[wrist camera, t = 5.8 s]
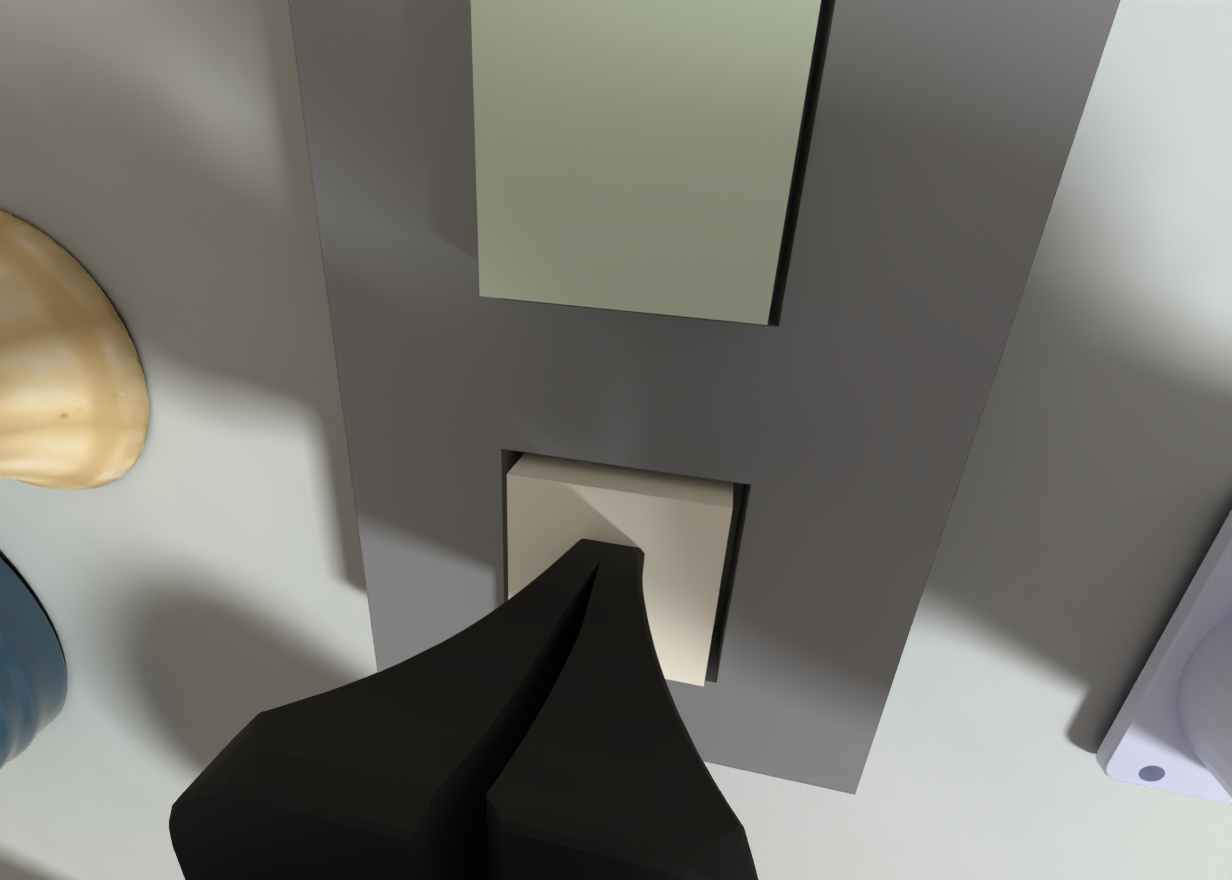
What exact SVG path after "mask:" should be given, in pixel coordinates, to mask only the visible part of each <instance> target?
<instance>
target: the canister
mask: <svg viewBox="0 0 1232 880" xmlns="http://www.w3.org/2000/svg"><path fill="white" fill-rule="evenodd" d="M66 691H67V674H66V667H65V662H64V658H63V655H62V651H61V648H60V646H59V643H58V640H57V638H56V636H55V633H54V631H53V629H52V627H51V625H50V623H49V621H48V619H47V618H46V616H45V614H44V613H43V611H42V609H41V608H40V606H39V605H38V603H37V602H36V600H35V599H34V597H33V596H32V594H31V593H30V592H29V590H28V589H27V587H26V586H25V585H24V584H23V582H22V581H21V580H20V579H19V577H18V576H17V575H16V574H15V573H14V572H13V570H12V569H11V568H10V567H9V566H8V565H7V564H6V563H5V561H4V560H3V559H2V558H1V557H0V769H1V768H2V767H3V766H4V765H5V763H6V762H8V761H10V760H12V759H14V758H15V757H17V756H19V755H20V754H21V753H22V752H23V751H24V750H25V749H26V748H27V747H28V746H29V745H30V744H31V742H32V741H33V740H34V738H35V737H36V735H37V734H38V733H39V732H40V731H41V730H42V729H44V728H45V727H46V726H47V725H48V724H49V723H50V722H52V721H53V720H54V719H55V718H56V717H57V715H58V714H59V713H60V711H61V709H62V707H63V705H64V702H65V698H66Z"/></svg>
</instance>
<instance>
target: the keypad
mask: <svg viewBox="0 0 1232 880" xmlns="http://www.w3.org/2000/svg"><path fill="white" fill-rule="evenodd" d="M288 1H289V8H290V16H291V23H292V31H293V38H294V46H295V54H296V61H297V69H298V76H299V84H300V91H301V99H302V106H303V114H304V121H305V129H306V136H307V144H308V152H309V159H310V167H311V174H312V182H313V189H314V197H315V204H316V212H317V219H318V227H319V234H320V242H321V249H322V257H323V265H324V272H325V280H326V287H327V295H328V302H329V310H330V317H331V325H332V332H333V340H334V347H335V355H336V363H337V370H338V378H339V385H340V393H341V400H342V408H343V415H344V423H345V430H346V438H347V445H348V453H349V460H350V468H351V476H352V483H353V491H354V498H355V506H356V513H357V521H358V528H359V536H360V543H361V551H362V558H363V566H364V574H365V581H366V589H367V596H368V604H369V611H370V619H371V626H372V634H373V641H374V649H375V656H376V664H377V671H378V672H380V671H382V670H385V669H387V668H389V667H392V666H394V665H396V664H399V663H401V662H403V661H405V660H407V659H409V658H411V657H413V656H415V655H417V654H419V653H421V652H423V651H425V650H427V649H429V648H431V647H433V646H435V645H437V644H439V643H441V642H443V641H445V640H447V639H449V638H450V637H452V636H454V635H456V634H457V633H459V632H461V631H462V630H464V629H466V628H468V627H469V626H471V625H472V624H474V623H475V622H477V621H479V620H480V619H482V618H483V617H485V616H486V615H488V614H489V613H491V612H492V611H493V610H495V609H496V608H497V607H499V606H500V605H502V604H503V603H504V602H506V601H507V600H508V535H507V473H508V472H509V471H510V470H511V469H512V467H513V466H514V465H515V464H516V463H517V462H518V460H519V459H520V458H521V457H522V456H523V455H524V453H525V452H527V453H534V454H541V455H548V456H555V457H562V458H569V459H576V460H583V461H590V462H597V463H604V464H611V465H618V466H625V467H632V468H639V469H646V470H653V471H660V472H667V473H674V474H680V475H687V476H694V477H701V478H708V479H715V480H722V481H729V482H733V510H732V516H731V522H730V528H729V534H728V540H727V546H726V553H725V559H724V565H723V571H722V577H721V583H720V589H719V595H718V602H717V608H716V614H715V620H714V626H713V632H712V638H711V645H710V651H709V657H708V663H707V669H706V675H705V681H704V687H703V686H698V685H693V684H688V683H683V682H678V681H673V680H668V679H665V680H666V683H667V686H668V688H669V691H670V693H671V696H672V698H673V701H674V703H675V705H676V708H677V710H678V712H679V714H680V716H681V719H682V721H683V723H684V725H685V727H686V729H687V731H688V733H689V735H690V737H691V739H692V741H693V743H694V745H695V747H696V749H697V751H698V753H699V755H700V757H701V759H702V760H703V761H705V762H710V763H714V764H719V765H723V766H728V767H732V768H737V769H741V770H746V771H750V772H755V773H759V774H764V775H769V776H773V777H778V778H782V779H787V780H791V781H796V782H800V783H805V784H809V785H814V786H818V787H823V788H828V789H832V790H837V791H841V792H846V793H850V794H855V793H856V790H857V787H858V784H859V781H860V778H861V775H862V772H863V769H864V766H865V763H866V760H867V757H868V754H869V751H870V748H871V745H872V742H873V739H874V736H875V733H876V730H877V727H878V724H879V721H880V718H881V715H882V712H883V709H884V706H885V703H886V700H887V697H888V694H889V691H890V688H891V685H892V682H893V679H894V676H895V673H896V670H897V667H898V664H899V661H900V658H901V655H902V652H903V649H904V646H905V643H906V640H907V637H908V634H909V631H910V628H911V625H912V622H913V619H914V616H915V613H916V610H917V607H918V604H919V601H920V598H921V595H922V592H923V589H924V586H925V583H926V580H927V577H928V574H929V571H930V568H931V565H932V562H933V559H934V556H935V553H936V550H937V547H938V544H939V541H940V538H941V535H942V532H943V529H944V526H945V523H946V520H947V517H948V514H949V511H950V508H951V505H952V502H953V499H954V496H955V493H956V490H957V487H958V484H959V481H960V479H961V476H962V473H963V470H964V467H965V464H966V461H967V458H968V455H969V452H970V449H971V446H972V443H973V440H974V437H975V434H976V431H977V428H978V425H979V422H980V419H981V416H982V413H983V410H984V407H985V404H986V401H987V398H988V395H989V392H990V389H991V386H992V383H993V380H994V377H995V374H996V371H997V368H998V365H999V362H1000V359H1001V356H1002V353H1003V350H1004V347H1005V344H1006V341H1007V338H1008V335H1009V332H1010V329H1011V326H1012V323H1013V320H1014V317H1015V314H1016V311H1017V308H1018V305H1019V302H1020V299H1021V296H1022V293H1023V290H1024V287H1025V284H1026V281H1027V278H1028V275H1029V272H1030V269H1031V266H1032V263H1033V260H1034V257H1035V254H1036V251H1037V248H1038V245H1039V242H1040V239H1041V236H1042V233H1043V230H1044V227H1045V224H1046V221H1047V218H1048V215H1049V212H1050V209H1051V206H1052V203H1053V200H1054V197H1055V194H1056V191H1057V188H1058V185H1059V182H1060V179H1061V176H1062V173H1063V170H1064V167H1065V164H1066V161H1067V158H1068V155H1069V152H1070V149H1071V146H1072V143H1073V140H1074V137H1075V134H1076V131H1077V128H1078V125H1079V122H1080V119H1081V116H1082V113H1083V110H1084V107H1085V104H1086V101H1087V98H1088V95H1089V92H1090V89H1091V86H1092V83H1093V80H1094V77H1095V74H1096V71H1097V68H1098V65H1099V62H1100V59H1101V56H1102V53H1103V50H1104V47H1105V44H1106V41H1107V38H1108V35H1109V32H1110V29H1111V26H1112V23H1113V20H1114V17H1115V14H1116V11H1117V8H1118V5H1119V2H1120V0H821V5H820V11H819V17H818V23H817V29H816V35H815V41H814V47H813V53H812V59H811V65H810V71H809V77H808V83H807V89H806V95H805V101H804V107H803V113H802V119H801V125H800V131H799V137H798V143H797V149H796V155H795V161H794V167H793V173H792V179H791V185H790V191H789V197H788V203H787V209H786V215H785V221H784V227H783V233H782V239H781V245H780V251H779V257H778V263H777V269H776V275H775V281H774V288H773V294H772V300H771V306H770V312H769V318H768V324H767V325H762V324H752V323H742V322H732V321H723V320H713V319H703V318H693V317H683V316H673V315H663V314H653V313H643V312H633V311H623V310H613V309H603V308H593V307H583V306H573V305H563V304H553V303H543V302H533V301H524V300H514V299H504V298H494V297H484V296H480V291H479V259H478V226H477V193H476V160H475V127H474V94H473V62H472V29H471V0H288Z"/></svg>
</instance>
